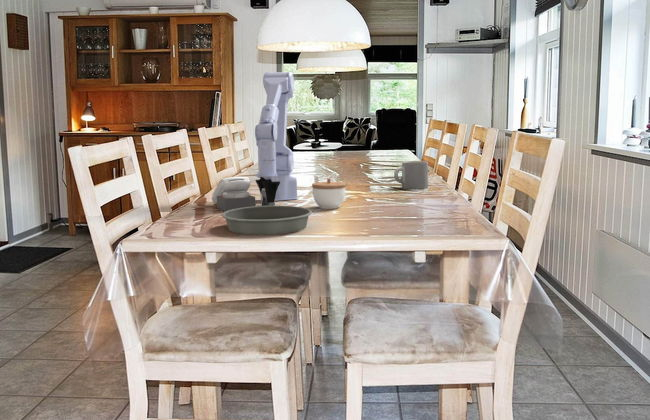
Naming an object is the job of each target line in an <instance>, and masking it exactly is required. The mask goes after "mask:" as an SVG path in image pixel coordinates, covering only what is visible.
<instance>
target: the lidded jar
mask: <svg viewBox="0 0 650 420" xmlns="http://www.w3.org/2000/svg"><path fill="white" fill-rule="evenodd" d="M346 185H347V184H346V182H342V181H331V178H330V177H329V178H328V177H327V178H326V181H318V182H313V183H311V188H312V196H313V199H314V202H315V204H316V205H317V206H318V207H319V209H325V210H332V209H333V210H335V209H338V208H339V207H340V206H341V205H342V204H343V202H344V200H345V197H346Z"/></svg>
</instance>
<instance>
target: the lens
mask: <svg viewBox="0 0 650 420" xmlns="http://www.w3.org/2000/svg"><path fill="white" fill-rule="evenodd" d="M260 201H261V206H276V201H274V202H273V203H268V202H267V198H266V192H265V188H262V191H261V194H260Z"/></svg>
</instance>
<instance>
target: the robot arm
mask: <svg viewBox="0 0 650 420" xmlns="http://www.w3.org/2000/svg"><path fill="white" fill-rule="evenodd" d="M262 77H263V78H262V84H263V88H264V91H265V93H266V103H265V104H266V105H264V106H263V107H262V108H261V112H260V115H259V116H260V117H259V122H258V124H256V125H255V128H254V137H255V143H256V147H257V160H258V161H257V163H258V164H257V165H258V166H257V167H258V171H257V172H256V173H255V174H254V175H255V176H254V177H257V178H258V179H257V178H256V179H255V183H256V185H257V187H258V190H259V193H260V195H261V191H262V188H265V192H266V198H267V202H268V203H273V202H274V201H275V202H277V201H287V200H289V201H290V200H291V201H292V200H299V197H298V182H297V176H296V174H295V173H292V172H293V171H294V169H295V167H294V166H295V162H294V152H293V151H292V150H291V149H290V148H289V147H288V146H287V145H286V143H287V141H286V140H287V125H288V122H287V120H288V105H289V101H290V99H291V98H294V93H295V92H294V90H295V78H294V73H293V72H292V71H278V72H275V71H274V72H273V71H272V72H270V71H269V72H268V71H266V72H264V73H263V76H262Z"/></svg>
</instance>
